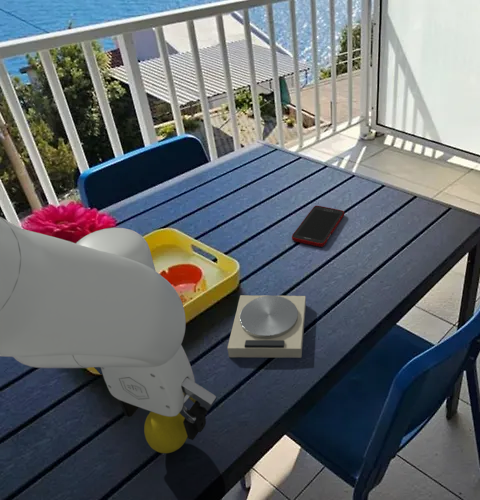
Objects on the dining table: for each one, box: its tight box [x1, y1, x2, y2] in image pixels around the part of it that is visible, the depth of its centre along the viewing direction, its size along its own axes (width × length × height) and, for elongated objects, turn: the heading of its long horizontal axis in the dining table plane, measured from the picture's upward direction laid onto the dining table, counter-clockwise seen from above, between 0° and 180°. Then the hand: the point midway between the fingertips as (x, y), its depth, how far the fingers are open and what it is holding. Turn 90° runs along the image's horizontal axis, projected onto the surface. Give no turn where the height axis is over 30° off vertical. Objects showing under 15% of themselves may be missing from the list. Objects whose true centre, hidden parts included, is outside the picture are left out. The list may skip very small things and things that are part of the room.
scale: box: [227, 294, 307, 359], centre depth 87 cm, size 13×12×3 cm
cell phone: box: [291, 205, 345, 248], centre depth 114 cm, size 8×15×1 cm, turn 162°
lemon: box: [143, 411, 188, 454], centre depth 67 cm, size 6×6×8 cm
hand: (165, 418), depth 67 cm, fingers open, 9 cm apart
